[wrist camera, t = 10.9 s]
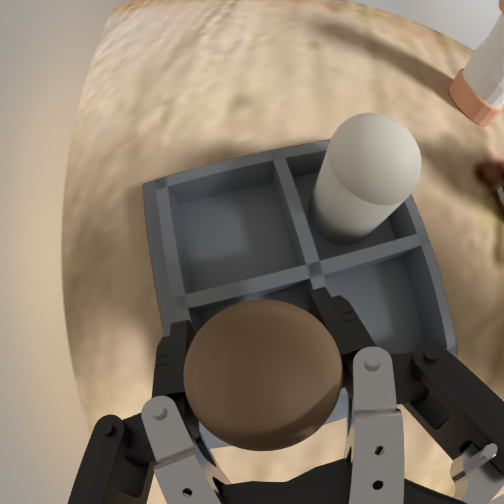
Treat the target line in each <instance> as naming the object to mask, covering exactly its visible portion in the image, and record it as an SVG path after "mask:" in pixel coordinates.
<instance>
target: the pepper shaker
mask: <svg viewBox="0 0 504 504" xmlns="http://www.w3.org/2000/svg"><path fill="white" fill-rule="evenodd" d="M499 8H500V10H501V11H502V14H501V15H500V17H499V19H498V20H497V22H496V24H495V26H494V28H493V29H492V31H491V33H490V34H489V36H488V37H487V38H486V39H485V41H484V42H483V43H482V44H481V45H480V46H479V47H478V48H477V49H476V50H475V51H474V52H473V54H472V56H471V57H470V59H469V61H468V63H467V65H466V66H465V68H463V69H461V70H459V72H458V74H457V75H456V77H455V78H454V80H453V82H452V83H451V85H450V87H449V92H450V96H451V97H452V99H453V101H454V102H455V104H456V105H457V106H458V108H459V109H460V110H461V111H462V112H463V113H464V114H465V115H466V116H467V117H469V118H470V119H471V120H472V121H474V122H476V123H477V124H479V125H482V126H489V125H490V123H491V122H492V121H493V120H494V119H495V118H496V117H497V116H498V114H499V113H500V112H501V111H502V110H503V104H504V0H499Z"/></svg>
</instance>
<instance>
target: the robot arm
mask: <svg viewBox="0 0 504 504" xmlns="http://www.w3.org/2000/svg"><path fill="white" fill-rule="evenodd" d="M307 294H308V306H309V313H310V314H311V315H313V316H314V317H315V318H316V319H318V320H319V321H320V322H321V323H322V324H323V325H324V327H325V328H326V329H327V330H328V331H329V333H330V334H331V336H332V338H333V339H334V341H335V343H336V345H337V348H338V350H339V353H340V357H341V361H342V367H343V380H342V388H341V389H343V388H346V391H347V393H348V411H347V434H346V445H345V453H344V458H343V459H341V460H338V461H334V462H331V463H328V464H325V465H322V466H318V467H315V468H313V469H311V470H309V471H308V472H306V473H304V474H302V475H300V476H298V477H296V478H293V479H291V480H289V481H287V482H258V481H250V482H243V483H236V484H231V482H230V481H229V479H228V478H227V476H226V475H225V474H224V473H223V471H222V470H221V469H220V467H219V465H218V464H217V462H216V460H215V458H214V456H213V455H212V453H211V451H210V449H209V447H208V445H207V443H206V442H205V440H204V438H203V436H202V434H201V432H200V431H199V420H198V419H197V417H196V416H195V414H194V413H193V411H192V409H191V407H190V405H189V402H188V399H187V396H186V393H185V388H184V377H183V374H184V364H185V359H186V355H187V353H188V350H189V347H190V345H191V343H192V341H193V339H194V337H195V336H196V333H195V330H194V328H193V326H192V324H191V322H190V321H189V320H184V321H179V322H174V323H172V324H171V328H170V336H166V337H163V338H162V339H161V341H160V343H159V345H158V346H157V353H156V361H155V366H156V367H155V370H154V380H153V390H152V398H151V399H150V400H149V401H147V402H146V404H145V405H144V406H143V409H142V412H141V413H139V414H137V415H134V416H132V417H129V418H126V419H124V420H121V419H120V418H119V417H118V416H116V415H106V416H104V417H102V418H101V419H99V420H98V422H97V423H96V425H95V427H94V430H93V432H92V435H91V437H90V440H89V443H88V446H87V448H86V451H85V453H84V456H83V459H82V462H81V465H80V468H79V470H78V473H77V476H76V479H75V482H74V485H73V488H72V491H71V495H70V498H69V501H68V504H146V503H147V499H148V495H149V491H150V487H151V483H152V479H153V475H154V473H155V476H156V478H157V481H158V483H159V486H160V488H161V490H162V493H163V495H164V497H165V499H166V502H167V504H488V503H489V502H490V501H491V500H492V498H493V497H494V496H495V495H496V494H497V493H498V491H499V490H500V489H501V488H502V487H503V485H504V402H503V401H502V400H501V399H500V398H499V397H498V396H497V395H496V394H495V393H494V392H493V391H492V390H491V389H490V388H489V387H488V386H487V385H486V384H484V383H483V382H482V381H481V380H480V379H479V378H478V377H477V376H476V375H475V374H474V373H473V372H471V371H470V370H469V369H468V368H467V367H466V366H465V365H464V364H463V363H461V362H460V361H459V360H458V359H457V358H456V357H455V356H453V355H452V354H451V353H450V352H449V351H448V350H447V349H446V348H444V347H443V346H442V345H441V344H439V343H437V342H434V341H425V342H422V343H420V344H419V345H418V346H416V348H415V349H414V352H410V353H401V354H391V353H388V352H387V351H385V350H384V349H382V348H379V347H377V346H376V344H375V343H374V341H373V339H372V338H371V336H370V334H369V333H368V331H367V329H366V328H365V326H364V324H363V323H362V321H361V320H360V319H359V316H358V315H357V313H356V312H355V310H354V308H353V307H352V305H351V304H350V302H349V301H348V300H346V299H345V298H343V297H342V296H340V295H338V296H334V297H331V295H330V294H329V292H328V290H327V289H326V287H321V288H318V289H314V290H310V291H308V293H307ZM397 404H402V405H403V406H404V407H405V408H406V409H407V410H408V411H409V412H410V413H411V414H412V416H413V417H414V418H415V419H416V420H417V421H418V422H419V423H420V424H421V425H422V427H423V428H424V429H425V430H426V431H427V432H428V433H429V434H430V435H431V436H432V438H433V439H434V440H435V441H436V442H437V443H438V444H439V445H440V446H441V448H442V449H443V450H444V451H445V452H446V453H447V454H448V455H449V456H450V458H451V459H452V460H453V462H452V465H451V469H450V474H451V478H452V479H453V481H454V483H455V494H454V496H453V498H452V497H450V496H447V495H444V494H441V493H439V492H436V491H434V490H431V489H429V488H426V487H424V486H421V485H419V484H417V483H414V482H412V481H410V480H407V479H405V478H404V434H403V419H402V413H401V410H400V409H398V408H397Z"/></svg>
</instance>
